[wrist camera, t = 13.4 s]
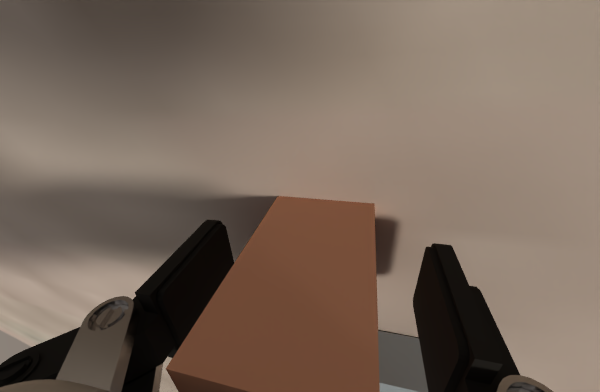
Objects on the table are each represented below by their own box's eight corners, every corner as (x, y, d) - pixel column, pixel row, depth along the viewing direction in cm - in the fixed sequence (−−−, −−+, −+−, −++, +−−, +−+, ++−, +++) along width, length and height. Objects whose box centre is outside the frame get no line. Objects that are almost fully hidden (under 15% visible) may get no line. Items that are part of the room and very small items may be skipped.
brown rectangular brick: (277, 196, 11) (165, 368, 5) (374, 203, 10) (381, 427, 4) (284, 264, 13) (210, 448, 7) (366, 276, 12) (362, 500, 6)
